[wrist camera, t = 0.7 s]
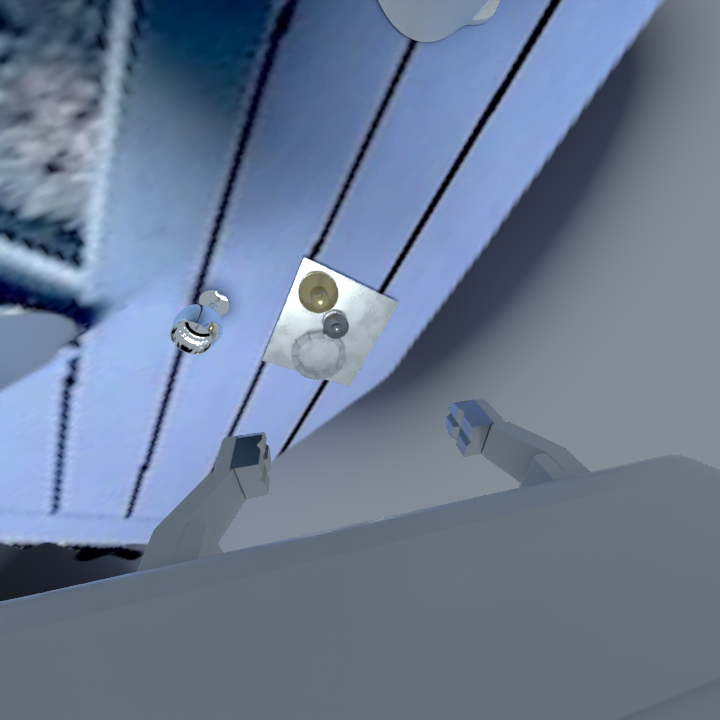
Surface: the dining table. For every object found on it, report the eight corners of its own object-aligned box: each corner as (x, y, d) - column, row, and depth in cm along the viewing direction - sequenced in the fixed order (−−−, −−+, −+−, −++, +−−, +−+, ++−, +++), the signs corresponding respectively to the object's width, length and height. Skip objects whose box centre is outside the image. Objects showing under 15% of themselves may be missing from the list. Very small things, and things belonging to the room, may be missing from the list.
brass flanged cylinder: (307, 264, 43) (309, 274, 38) (343, 281, 45) (349, 292, 41) (292, 300, 45) (292, 314, 41) (327, 314, 48) (331, 329, 43)
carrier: (304, 255, 43) (305, 262, 39) (396, 300, 50) (404, 309, 47) (262, 356, 51) (260, 370, 47) (348, 382, 58) (351, 396, 55)
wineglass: (232, 287, 43) (214, 319, 34) (234, 321, 46) (218, 358, 37) (192, 283, 42) (160, 315, 32) (196, 318, 45) (169, 356, 35)
